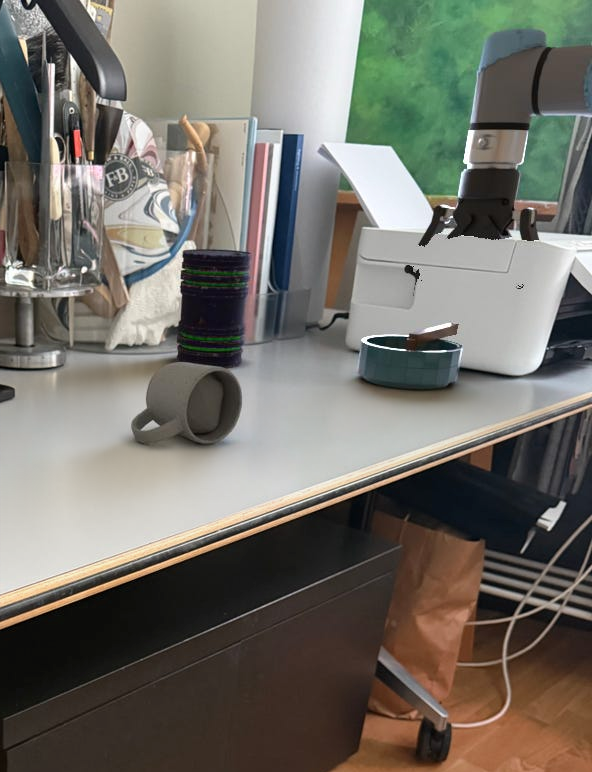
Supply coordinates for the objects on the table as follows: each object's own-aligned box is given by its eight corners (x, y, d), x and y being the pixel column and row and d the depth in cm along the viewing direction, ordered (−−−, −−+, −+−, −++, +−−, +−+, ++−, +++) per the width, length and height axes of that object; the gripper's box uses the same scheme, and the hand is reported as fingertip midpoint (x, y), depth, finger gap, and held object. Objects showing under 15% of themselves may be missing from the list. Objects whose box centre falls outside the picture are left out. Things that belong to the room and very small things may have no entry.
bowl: (462, 378, 131) (470, 341, 129) (446, 395, 121) (453, 355, 119) (369, 367, 137) (374, 332, 134) (345, 383, 126) (350, 345, 124)
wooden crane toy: (443, 353, 140) (451, 304, 137) (481, 359, 136) (490, 309, 133) (376, 372, 129) (383, 319, 125) (416, 379, 125) (424, 325, 121)
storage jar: (167, 364, 135) (173, 252, 128) (184, 353, 143) (190, 248, 136) (235, 370, 132) (245, 256, 125) (248, 358, 140) (258, 251, 134)
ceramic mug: (192, 422, 104) (196, 351, 101) (241, 439, 98) (246, 364, 95) (114, 435, 99) (115, 361, 96) (160, 454, 93) (163, 376, 90)
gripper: (394, 166, 131) (373, 324, 141) (574, 167, 115) (537, 345, 125) (421, 167, 136) (399, 319, 145) (598, 168, 120) (560, 339, 129)
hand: (463, 331), depth 135 cm, fingers open, 13 cm apart
